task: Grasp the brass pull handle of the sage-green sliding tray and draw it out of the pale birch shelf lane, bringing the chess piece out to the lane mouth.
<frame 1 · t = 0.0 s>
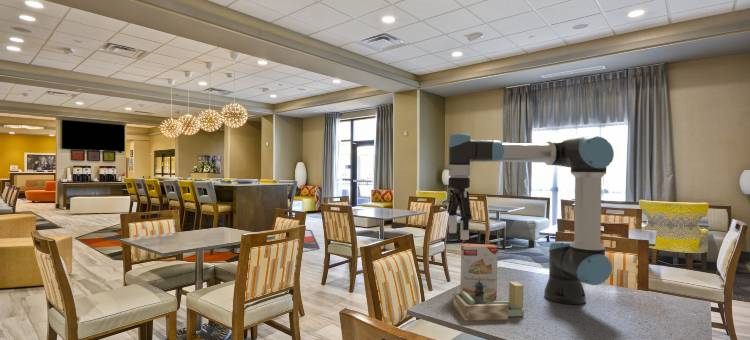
hand: (458, 236, 141), 28 cm above the table, fingers open, 13 cm apart
chess piece: (478, 313, 143), resting in tray
shelf lane: (486, 312, 143), on the table
cracker box: (478, 296, 162), on the table
tray: (493, 297, 143), point 5 cm above the table, slide at 0.0 cm
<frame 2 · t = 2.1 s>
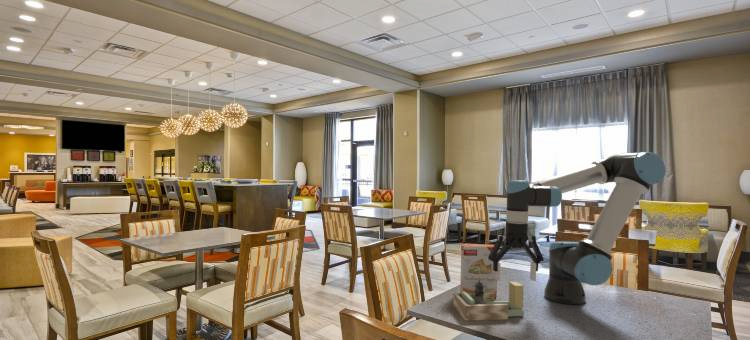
hand: (515, 280, 144), 12 cm above the table, fingers open, 13 cm apart
nothing on the table moved.
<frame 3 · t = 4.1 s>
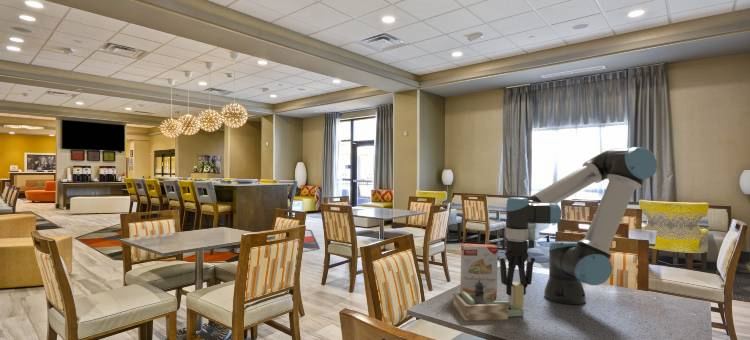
hand: (515, 303, 144), 3 cm above the table, fingers closed on tray, 3 cm apart
tray: (493, 297, 143), point 5 cm above the table, slide at 0.0 cm, touching gripper
everything else where it was.
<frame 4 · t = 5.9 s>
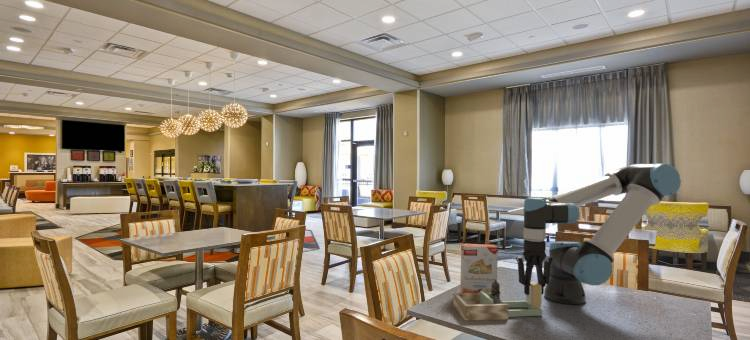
hand: (533, 303, 145), 3 cm above the table, fingers closed on tray, 3 cm apart
chess piece: (495, 312, 144), resting in tray
tray: (511, 297, 144), point 5 cm above the table, slide at 6.9 cm, touching gripper, chess piece
everything else where it was.
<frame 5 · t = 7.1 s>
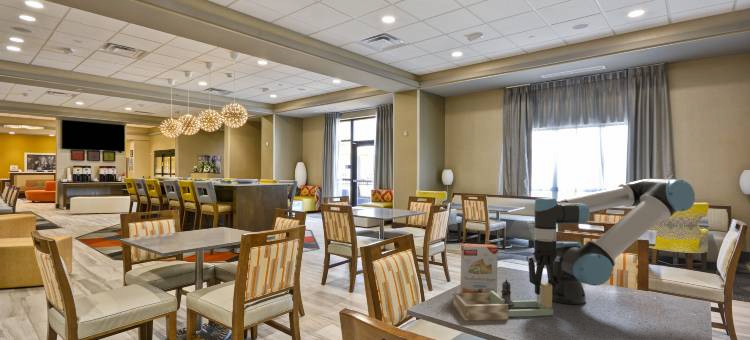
hand: (544, 302, 145), 3 cm above the table, fingers closed on tray, 3 cm apart
chess piece: (505, 312, 144), resting in tray
tray: (522, 297, 144), point 5 cm above the table, slide at 11.0 cm, touching gripper, chess piece
everything else where it was.
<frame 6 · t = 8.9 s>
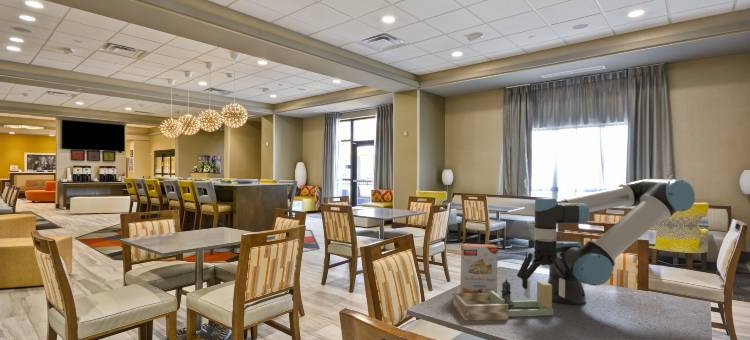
hand: (544, 296, 145), 5 cm above the table, fingers open, 13 cm apart
chess piece: (505, 312, 144), resting in tray
tray: (522, 297, 144), point 5 cm above the table, slide at 11.0 cm
everything else where it was.
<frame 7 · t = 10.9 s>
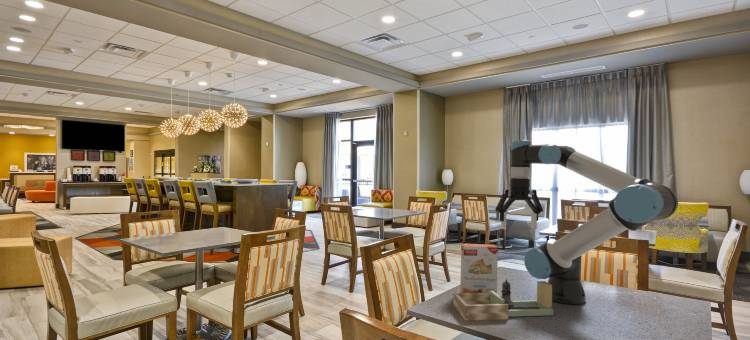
hand: (518, 229, 163), 28 cm above the table, fingers open, 13 cm apart
nothing on the table moved.
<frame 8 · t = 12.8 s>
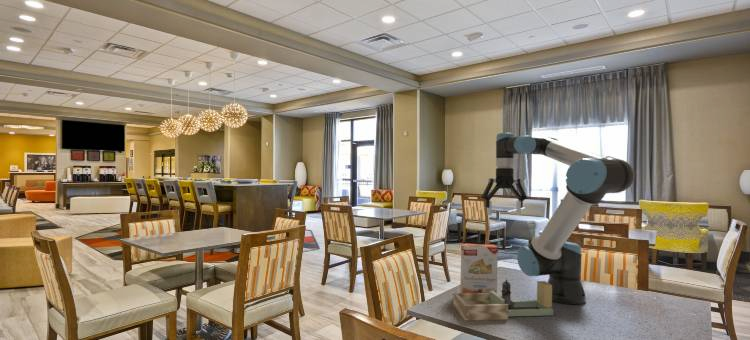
hand: (504, 215, 176), 32 cm above the table, fingers open, 13 cm apart
nothing on the table moved.
at the end: tray slide at 11.0 cm; chess piece inside the target area (1.7 cm from its centre), resting in tray; chess piece tilted 0° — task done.
